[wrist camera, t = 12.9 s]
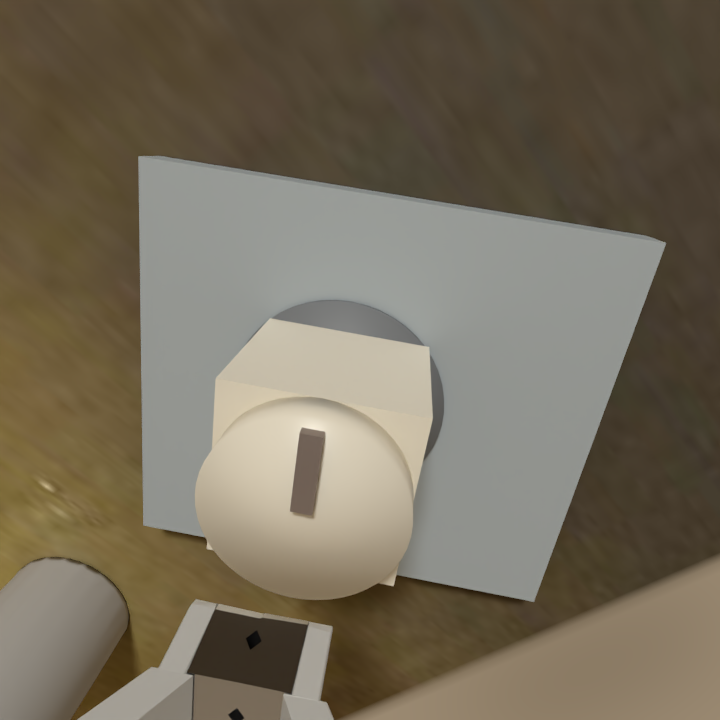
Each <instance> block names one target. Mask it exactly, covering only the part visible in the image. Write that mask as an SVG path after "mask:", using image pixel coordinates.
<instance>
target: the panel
mask: <svg viewBox="0 0 720 720" xmlns="http://www.w3.org/2000/svg"><path fill="white" fill-rule="evenodd" d="M139 229H140V304H141V379H142V454H143V525H144V526H149V527H154V528H160V529H165V530H170V531H175V532H180V533H185V534H190V535H195V536H200V537H205V536H204V534H203V532H202V530H201V527H200V524H199V521H198V518H197V513H196V508H195V487H196V481H197V478H198V474H199V471H200V469H201V467H202V465H203V463H204V461H205V459H206V458H207V456H208V455H209V453H210V452H211V450H212V438H213V418H214V399H215V379H216V377H217V376H218V375H219V374H220V373H221V372H222V371H223V369H224V368H225V367H226V366H227V365H228V364H229V363H230V362H231V361H232V360H233V358H234V357H235V356H236V355H237V354H238V353H239V352H240V351H241V350H242V348H243V347H244V346H245V345H246V344H247V343H248V342H249V341H250V340H251V339H252V337H253V336H254V335H255V334H256V333H257V332H258V331H259V330H260V329H261V328H262V326H263V325H264V324H265V323H266V322H267V321H268V320H269V319H270V318H272V319H277V320H283V321H288V322H294V323H299V324H305V325H310V326H316V327H321V328H327V329H332V330H338V331H343V332H349V333H355V334H360V335H366V336H371V337H377V338H382V339H388V340H393V341H399V342H404V343H410V344H415V345H421V346H427V347H429V351H430V371H431V391H432V411H433V420H432V425H431V429H430V433H429V437H428V442H427V446H426V450H425V454H424V459H423V463H422V467H421V472H420V476H419V480H418V484H417V489H416V493H415V497H414V501H413V528H412V535H411V539H410V542H409V545H408V548H407V550H406V552H405V554H404V556H403V558H402V559H401V561H400V562H399V566H398V570H397V574H396V575H400V576H405V577H410V578H415V579H420V580H425V581H430V582H435V583H441V584H446V585H451V586H456V587H461V588H466V589H471V590H476V591H481V592H486V593H492V594H497V595H502V596H507V597H512V598H517V599H522V600H527V601H532V602H534V600H535V597H536V594H537V592H538V589H539V586H540V584H541V581H542V578H543V575H544V573H545V570H546V567H547V565H548V562H549V559H550V556H551V554H552V551H553V548H554V546H555V543H556V540H557V537H558V535H559V532H560V529H561V527H562V524H563V521H564V519H565V516H566V513H567V510H568V508H569V505H570V502H571V500H572V497H573V494H574V491H575V489H576V486H577V483H578V481H579V478H580V475H581V472H582V470H583V467H584V464H585V462H586V459H587V456H588V454H589V451H590V448H591V445H592V443H593V440H594V437H595V435H596V432H597V429H598V426H599V424H600V421H601V418H602V416H603V413H604V410H605V407H606V405H607V402H608V399H609V397H610V394H611V391H612V389H613V386H614V383H615V380H616V378H617V375H618V372H619V370H620V367H621V364H622V361H623V359H624V356H625V353H626V351H627V348H628V345H629V342H630V340H631V337H632V334H633V332H634V329H635V326H636V323H637V321H638V318H639V315H640V313H641V310H642V307H643V305H644V302H645V299H646V296H647V294H648V291H649V288H650V286H651V283H652V280H653V277H654V275H655V272H656V269H657V267H658V264H659V261H660V258H661V256H662V253H663V250H664V248H665V245H666V243H665V242H662V241H659V240H657V239H654V238H651V237H648V236H644V235H638V234H632V233H626V232H620V231H614V230H608V229H602V228H596V227H589V226H583V225H577V224H571V223H565V222H559V221H553V220H547V219H541V218H535V217H529V216H522V215H516V214H510V213H504V212H498V211H492V210H486V209H480V208H474V207H468V206H462V205H455V204H449V203H443V202H437V201H431V200H425V199H419V198H413V197H407V196H401V195H395V194H388V193H382V192H376V191H370V190H364V189H358V188H352V187H346V186H340V185H334V184H328V183H321V182H315V181H309V180H303V179H297V178H291V177H285V176H279V175H273V174H267V173H261V172H254V171H248V170H242V169H236V168H230V167H224V166H218V165H212V164H206V163H200V162H193V161H187V160H181V159H175V158H169V157H163V156H139Z"/></svg>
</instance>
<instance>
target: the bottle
mask: <svg viewBox="0 0 720 720" xmlns="http://www.w3.org/2000/svg"><path fill="white" fill-rule="evenodd" d="M128 621H129V612H128V607H127V604H126V602H125V600H124V597H123V595H122V594H121V592H120V591H119V589H117V588H116V587H115V586H114V584H113V582H111V581H110V580H109V579H108V578H107V577H106V576H104V575H102V574H101V573H100V572H99V571H98V570H96V569H94V568H92V567H90V566H88V565H84V564H82V563H81V562H79V561H75V560H72V559H64V558H61V557H49V558H41V559H37V560H34V561H32V562H30V563H28V564H27V565H26V566H24V567H23V568H22V569H21V570H19V571H18V573H17V574H16V575H15V576H14V577H13V578H12V580H11V581H10V582H9V583H8V584H7V585H6V586H5V587H4V588H3V589H2V590H1V591H0V720H71V718H72V716H73V715H74V713H75V712H76V710H77V708H78V707H79V705H80V704H81V702H82V700H83V699H84V697H85V696H86V694H87V692H88V691H89V689H90V688H91V686H92V684H93V683H94V681H95V680H96V678H97V676H98V675H99V673H100V671H101V670H102V668H103V667H104V665H105V663H106V662H107V660H108V658H109V657H110V655H111V653H112V652H113V650H114V649H115V647H116V645H117V644H118V642H119V640H120V639H121V637H122V635H123V634H124V632H125V631H126V629H127V626H128Z"/></svg>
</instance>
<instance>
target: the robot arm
mask: <svg viewBox="0 0 720 720" xmlns="http://www.w3.org/2000/svg"><path fill="white" fill-rule="evenodd" d="M332 631H333V626H328V625H323V624H318V623H313V622H309V621H304V620H299V619H293V618H288V617H282V616H277V615H271V614H266V613H264V614H261V613H257V612H253V611H248V610H244V609H239V608H235V607H230V606H226V605H221V604H216V603H211V602H207V601H202V600H197V599H196V600H195V601H194V602H193V603H192V604H191V605H190V607H189V609H188V611H187V613H186V615H185V617H184V619H183V621H182V623H181V625H180V627H179V629H178V631H177V633H176V635H175V636H174V638H173V640H172V642H171V644H170V646H169V648H168V650H167V652H166V654H165V656H164V658H163V660H162V662H161V664H160V666H159V668H155V667H150V668H149V669H148V670H146V671H145V672H143V673H142V674H141V675H139V676H138V677H136V678H135V679H134V680H132V681H131V682H129V683H128V684H127V685H125V686H124V687H122V688H121V689H119V690H118V691H117V692H115V693H114V694H112V695H111V696H110V697H108V698H107V699H105V700H104V701H103V702H101V703H100V704H98V705H97V706H96V707H94V708H93V709H91V710H90V711H88V712H87V713H86V714H84V715H83V716H81V717H80V718H79V719H77V720H334V719H333V716H332V714H331V711H330V709H329V706H328V704H327V702H323V701H321V695H322V689H323V684H324V678H325V672H326V666H327V660H328V654H329V648H330V643H331V637H332Z"/></svg>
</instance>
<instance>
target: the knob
mask: <svg viewBox="0 0 720 720" xmlns="http://www.w3.org/2000/svg"><path fill="white" fill-rule="evenodd" d="M432 420H433V411H432V391H431V371H430V351H429V347H427V346H421V345H415V344H410V343H404V342H399V341H393V340H388V339H382V338H377V337H371V336H366V335H360V334H355V333H349V332H343V331H338V330H332V329H327V328H321V327H316V326H310V325H305V324H299V323H294V322H288V321H283V320H277V319H272V318H270V319H269V320H268V321H267V322H266V323H265V324H264V325H263V326H262V328H261V329H260V330H259V331H258V332H257V333H256V334H255V335H254V336H253V337H252V339H251V340H250V341H249V342H248V343H247V344H246V345H245V346H244V347H243V348H242V350H241V351H240V352H239V353H238V354H237V355H236V356H235V357H234V358H233V360H232V361H231V362H230V363H229V364H228V365H227V366H226V367H225V368H224V369H223V371H222V372H221V373H220V374H219V375H218V376H217V377H216V379H215V399H214V418H213V438H212V450H211V452H210V453H209V455H208V456H207V458H206V459H205V461H204V463H203V465H202V467H201V469H200V471H199V474H198V478H197V481H196V487H195V508H196V513H197V518H198V521H199V524H200V527H201V530H202V532H203V534H204V536H205V538H206V540H207V549H210V550H214V552H215V553H216V554H217V555H218V556H219V557H220V559H221V560H222V561H223V562H224V563H225V564H226V565H228V566H229V567H230V568H231V569H232V570H233V571H235V572H236V573H237V574H239V575H240V576H241V577H243V578H244V579H246V580H248V581H249V582H251V583H253V584H255V585H257V586H259V587H261V588H263V589H265V590H268V591H271V592H273V593H276V594H279V595H283V596H287V597H291V598H298V599H306V600H329V599H336V598H342V597H346V596H350V595H353V594H356V593H359V592H361V591H364V590H366V589H368V588H370V587H372V586H374V585H375V584H377V583H380V584H385V585H390V586H394V583H395V578H396V574H397V570H398V566H399V562H400V561H401V559H402V558H403V556H404V554H405V552H406V550H407V548H408V545H409V542H410V539H411V535H412V528H413V501H414V497H415V493H416V489H417V484H418V480H419V476H420V472H421V467H422V463H423V459H424V454H425V450H426V446H427V442H428V437H429V433H430V429H431V425H432Z"/></svg>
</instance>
